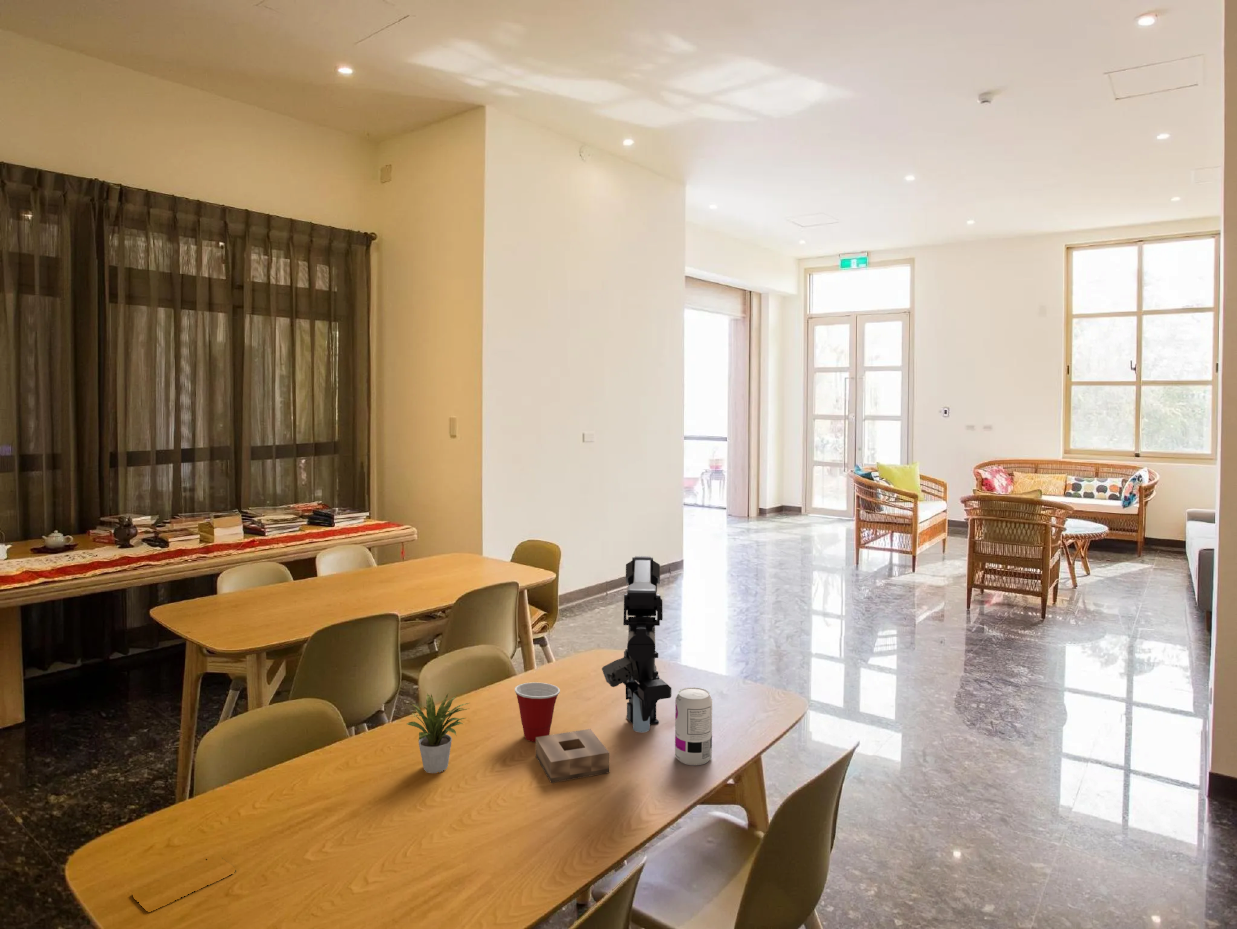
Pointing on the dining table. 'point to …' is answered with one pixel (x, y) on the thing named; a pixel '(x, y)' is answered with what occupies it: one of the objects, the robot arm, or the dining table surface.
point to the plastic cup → (536, 708)
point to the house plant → (436, 734)
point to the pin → (639, 717)
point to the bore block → (572, 755)
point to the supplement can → (693, 726)
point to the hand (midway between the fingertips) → (641, 717)
